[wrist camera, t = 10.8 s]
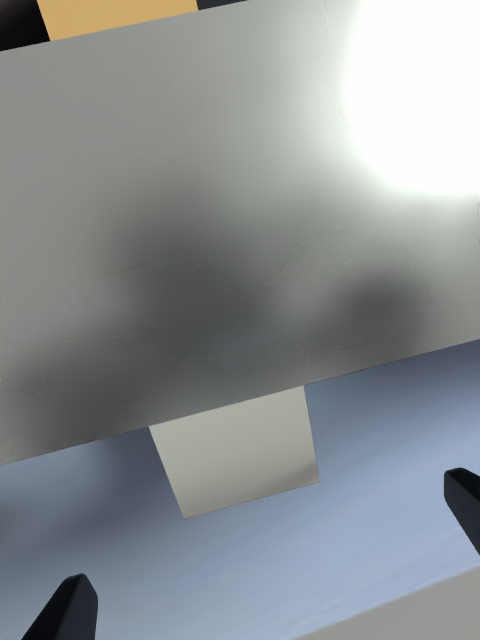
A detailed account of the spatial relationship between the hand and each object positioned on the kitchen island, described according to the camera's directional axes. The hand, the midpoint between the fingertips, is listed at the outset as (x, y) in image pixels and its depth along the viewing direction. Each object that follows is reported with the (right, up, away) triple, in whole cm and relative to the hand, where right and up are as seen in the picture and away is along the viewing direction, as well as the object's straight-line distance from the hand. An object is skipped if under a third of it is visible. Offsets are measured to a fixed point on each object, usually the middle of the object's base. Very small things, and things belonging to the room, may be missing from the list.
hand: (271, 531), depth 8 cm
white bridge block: (-2, +8, +3) cm, 9 cm away
